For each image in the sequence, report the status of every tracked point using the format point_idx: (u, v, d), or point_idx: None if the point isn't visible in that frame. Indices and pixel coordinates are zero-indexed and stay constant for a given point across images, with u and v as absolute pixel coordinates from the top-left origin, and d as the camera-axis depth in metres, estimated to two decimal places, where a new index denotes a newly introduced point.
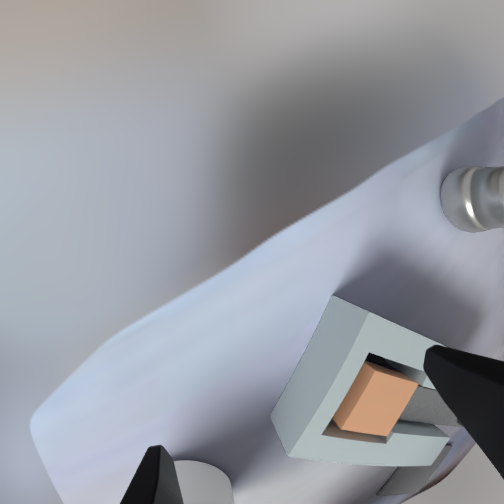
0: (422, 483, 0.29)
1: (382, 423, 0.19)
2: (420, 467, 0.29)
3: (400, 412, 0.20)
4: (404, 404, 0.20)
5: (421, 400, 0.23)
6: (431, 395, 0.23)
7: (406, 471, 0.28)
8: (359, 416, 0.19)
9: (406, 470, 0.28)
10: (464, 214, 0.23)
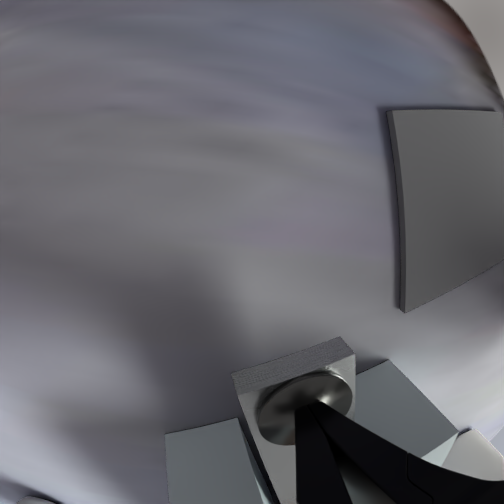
0: (487, 123, 0.11)
1: None
2: (459, 205, 0.12)
3: None
4: None
5: None
6: None
7: (465, 252, 0.13)
8: None
9: (463, 256, 0.13)
10: None
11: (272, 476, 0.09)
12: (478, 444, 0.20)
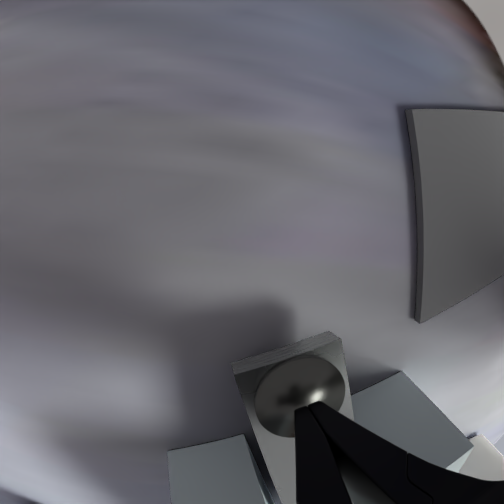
0: None
1: None
2: (476, 210, 0.11)
3: None
4: None
5: None
6: None
7: (481, 259, 0.12)
8: None
9: (479, 263, 0.12)
10: None
11: (276, 482, 0.09)
12: (484, 450, 0.19)
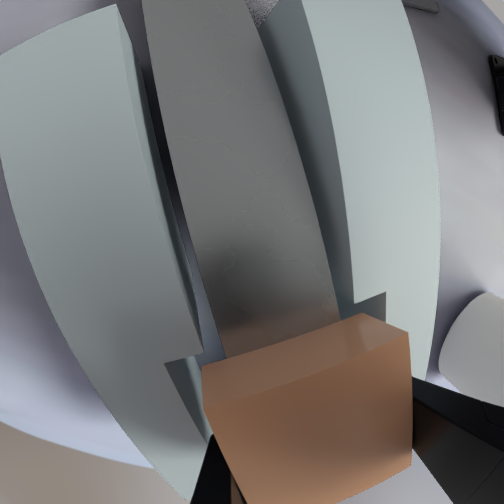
0: None
1: (377, 396, 0.06)
2: None
3: (324, 377, 0.06)
4: (293, 392, 0.06)
5: (228, 196, 0.08)
6: (192, 165, 0.08)
7: None
8: (374, 468, 0.07)
9: None
10: None
11: (149, 26, 0.07)
12: None
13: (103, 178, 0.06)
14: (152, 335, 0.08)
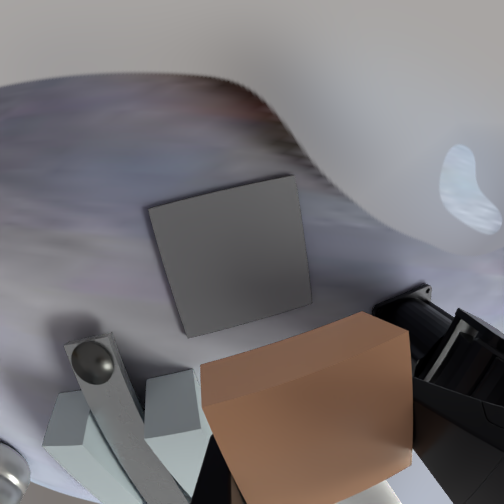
0: (266, 192, 0.18)
1: (378, 395, 0.06)
2: (226, 265, 0.19)
3: (324, 376, 0.06)
4: (293, 391, 0.06)
5: (142, 474, 0.18)
6: (128, 465, 0.18)
7: (244, 298, 0.20)
8: (374, 468, 0.07)
9: (242, 301, 0.20)
10: (25, 484, 0.18)
11: (93, 412, 0.17)
12: None
13: (101, 478, 0.16)
14: (125, 500, 0.17)
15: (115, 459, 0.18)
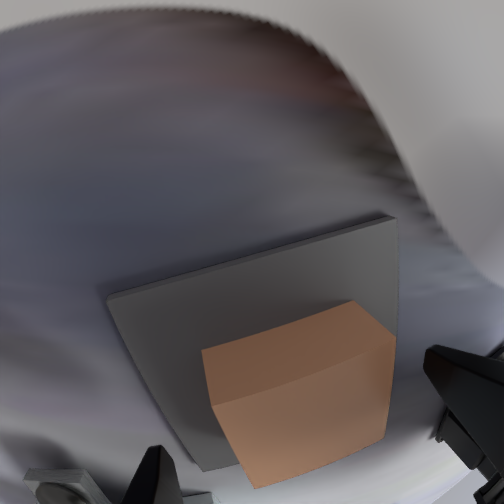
0: (348, 253, 0.09)
1: (362, 388, 0.08)
2: None
3: (318, 377, 0.07)
4: (291, 389, 0.07)
5: None
6: None
7: None
8: (352, 441, 0.08)
9: None
10: None
11: None
12: None
13: None
14: None
15: None
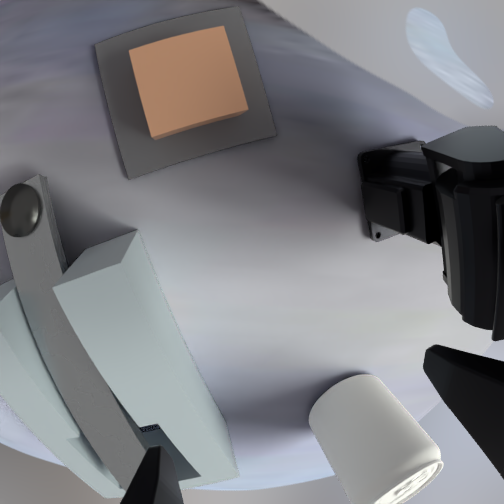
0: (210, 19, 0.14)
1: (209, 51, 0.13)
2: None
3: (180, 38, 0.12)
4: (166, 43, 0.12)
5: (70, 380, 0.14)
6: (54, 366, 0.14)
7: None
8: (218, 99, 0.14)
9: (190, 129, 0.16)
10: None
11: (16, 282, 0.14)
12: (366, 390, 0.23)
13: (19, 381, 0.12)
14: (57, 429, 0.14)
15: (42, 360, 0.14)
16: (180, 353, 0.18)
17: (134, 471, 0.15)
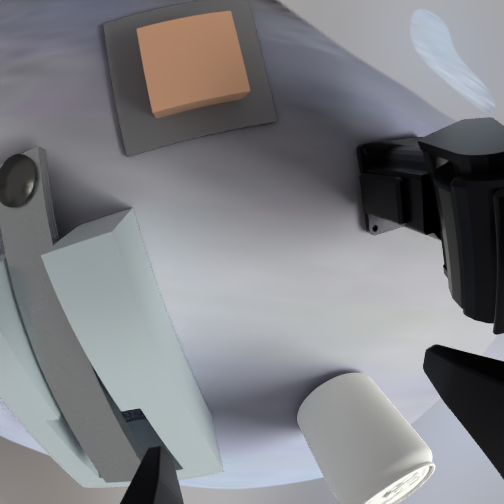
0: (218, 6, 0.14)
1: (215, 33, 0.13)
2: None
3: (187, 19, 0.12)
4: (174, 23, 0.12)
5: (53, 358, 0.14)
6: (37, 342, 0.13)
7: None
8: (220, 79, 0.14)
9: (192, 109, 0.16)
10: None
11: (6, 253, 0.13)
12: (357, 388, 0.22)
13: (1, 355, 0.12)
14: (37, 409, 0.13)
15: (26, 336, 0.14)
16: (168, 336, 0.17)
17: (114, 459, 0.14)
